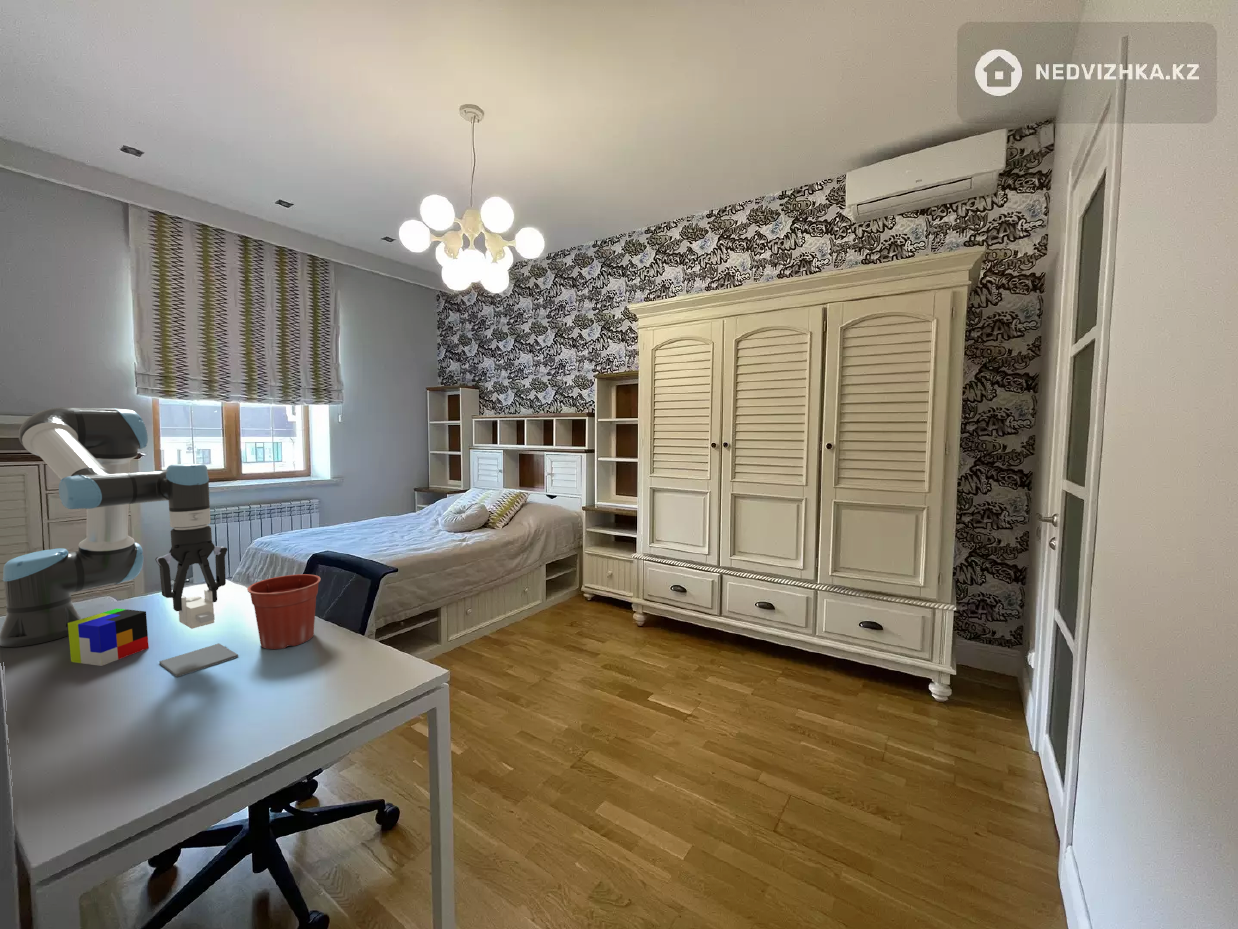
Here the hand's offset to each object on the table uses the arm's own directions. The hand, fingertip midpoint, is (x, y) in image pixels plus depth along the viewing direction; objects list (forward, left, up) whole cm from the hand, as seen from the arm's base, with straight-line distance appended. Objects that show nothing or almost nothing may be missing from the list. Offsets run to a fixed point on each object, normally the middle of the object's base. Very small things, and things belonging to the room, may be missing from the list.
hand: (196, 618), depth 121 cm
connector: (0, 0, -1) cm, 1 cm away
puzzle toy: (-23, -11, -11) cm, 28 cm away
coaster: (0, 0, -11) cm, 11 cm away
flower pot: (+6, +18, -11) cm, 21 cm away
